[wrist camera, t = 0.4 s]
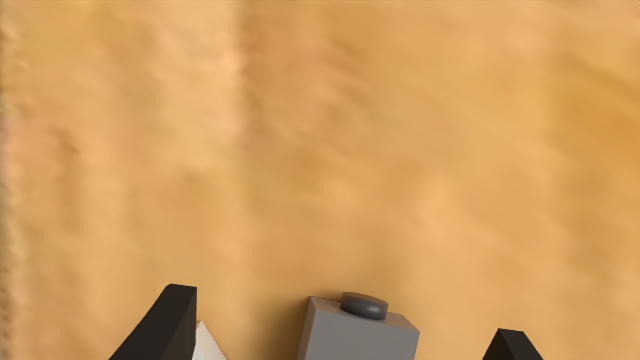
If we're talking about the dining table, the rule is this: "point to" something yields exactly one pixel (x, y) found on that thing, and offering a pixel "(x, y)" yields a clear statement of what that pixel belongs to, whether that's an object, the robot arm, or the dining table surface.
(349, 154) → the dining table surface
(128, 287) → the dining table surface
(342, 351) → the camera case
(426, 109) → the dining table surface
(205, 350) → the side door
